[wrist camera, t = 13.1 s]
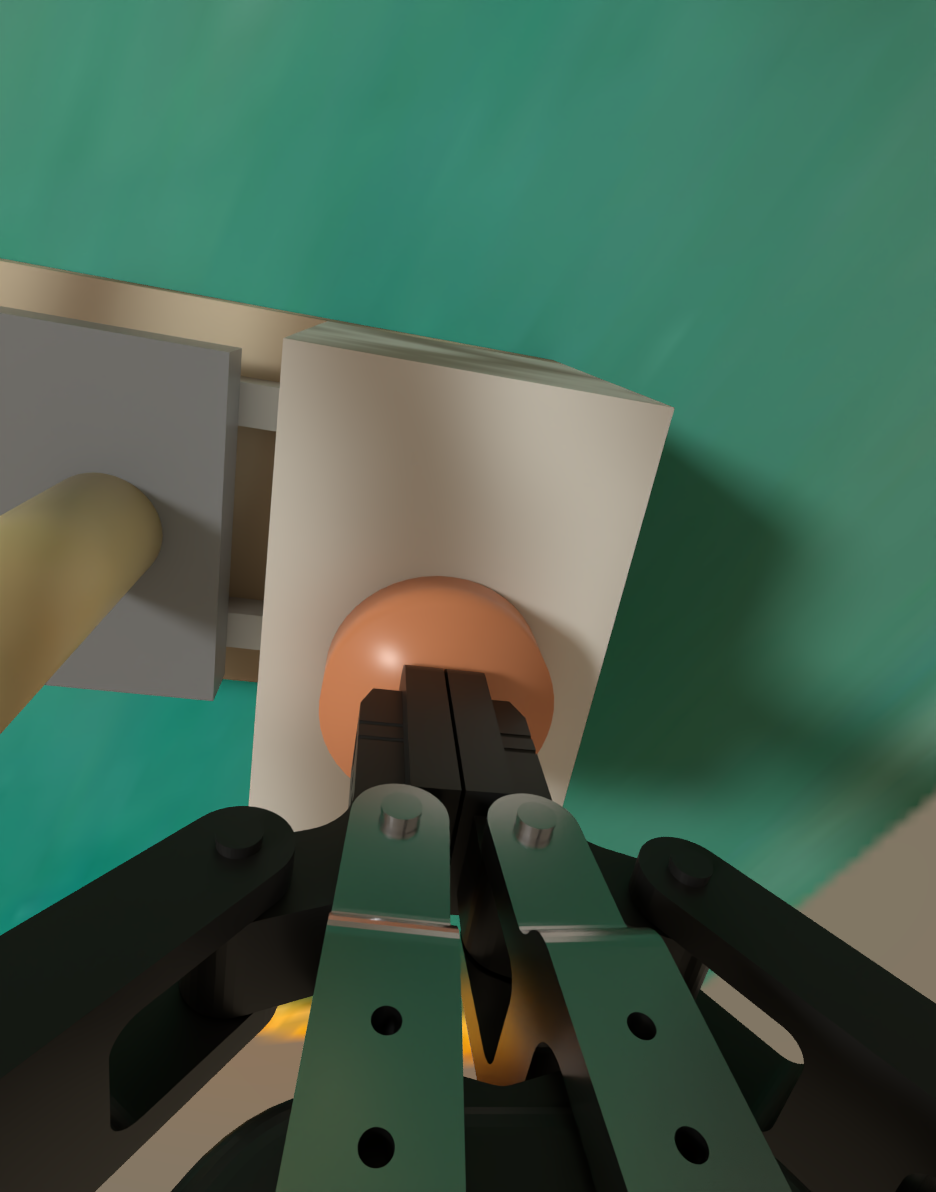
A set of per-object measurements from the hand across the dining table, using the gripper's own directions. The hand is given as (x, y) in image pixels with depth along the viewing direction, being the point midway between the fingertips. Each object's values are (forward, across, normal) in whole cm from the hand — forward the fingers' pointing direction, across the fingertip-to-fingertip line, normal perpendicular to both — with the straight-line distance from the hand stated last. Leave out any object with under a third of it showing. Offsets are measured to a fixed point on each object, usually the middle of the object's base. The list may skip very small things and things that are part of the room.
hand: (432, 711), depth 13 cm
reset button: (+1, 0, 0) cm, 1 cm away
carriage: (+9, +8, 0) cm, 12 cm away
